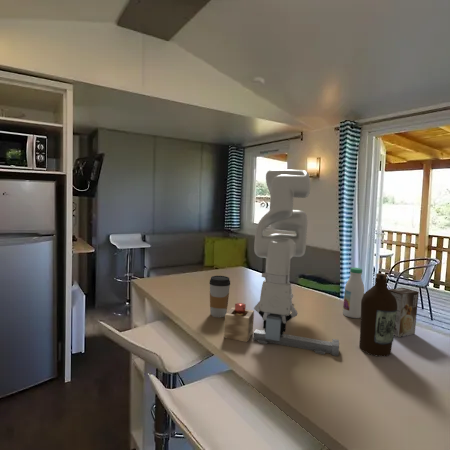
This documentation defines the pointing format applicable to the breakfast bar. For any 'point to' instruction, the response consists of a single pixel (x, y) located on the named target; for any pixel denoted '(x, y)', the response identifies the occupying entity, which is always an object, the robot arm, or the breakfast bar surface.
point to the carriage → (273, 326)
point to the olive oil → (378, 318)
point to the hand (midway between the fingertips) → (274, 331)
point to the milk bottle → (353, 294)
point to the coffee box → (405, 311)
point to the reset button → (240, 308)
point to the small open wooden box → (238, 325)
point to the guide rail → (301, 342)
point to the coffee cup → (219, 295)
